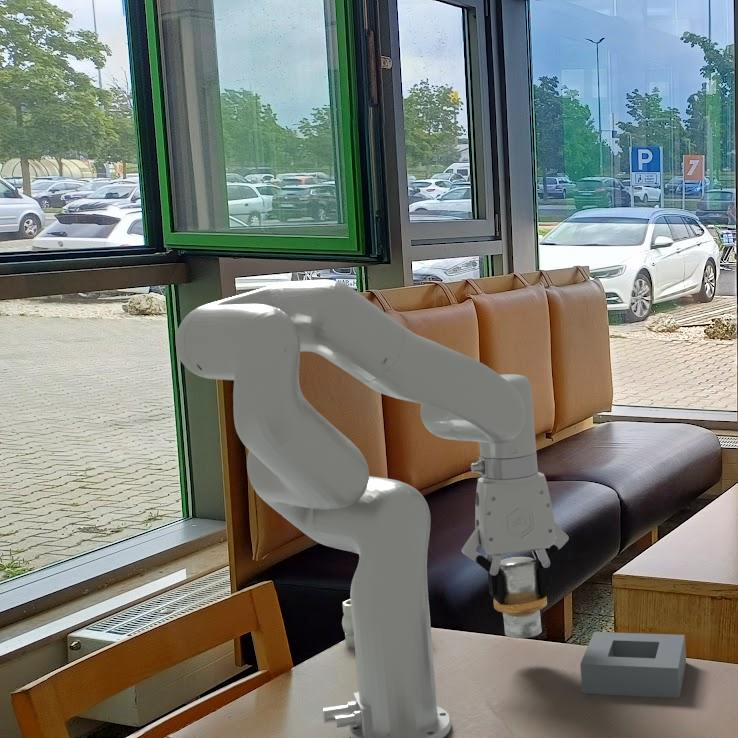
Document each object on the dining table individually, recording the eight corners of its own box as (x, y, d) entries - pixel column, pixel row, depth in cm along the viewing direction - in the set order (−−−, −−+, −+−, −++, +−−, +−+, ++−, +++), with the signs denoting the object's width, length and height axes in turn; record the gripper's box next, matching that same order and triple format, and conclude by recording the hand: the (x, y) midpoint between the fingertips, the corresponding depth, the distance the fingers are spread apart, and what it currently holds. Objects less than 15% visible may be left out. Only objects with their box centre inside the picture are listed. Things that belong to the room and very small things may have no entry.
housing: (680, 707, 142) (677, 668, 141) (582, 702, 146) (580, 664, 145) (686, 671, 153) (684, 634, 152) (596, 667, 157) (593, 631, 156)
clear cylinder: (506, 644, 152) (499, 573, 151) (490, 628, 159) (483, 560, 158) (557, 635, 154) (550, 564, 153) (539, 619, 161) (532, 551, 160)
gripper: (455, 480, 149) (466, 615, 151) (579, 463, 152) (589, 596, 154) (441, 469, 156) (452, 598, 158) (559, 454, 159) (569, 580, 161)
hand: (519, 595), depth 156 cm, fingers closed on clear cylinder, 5 cm apart
